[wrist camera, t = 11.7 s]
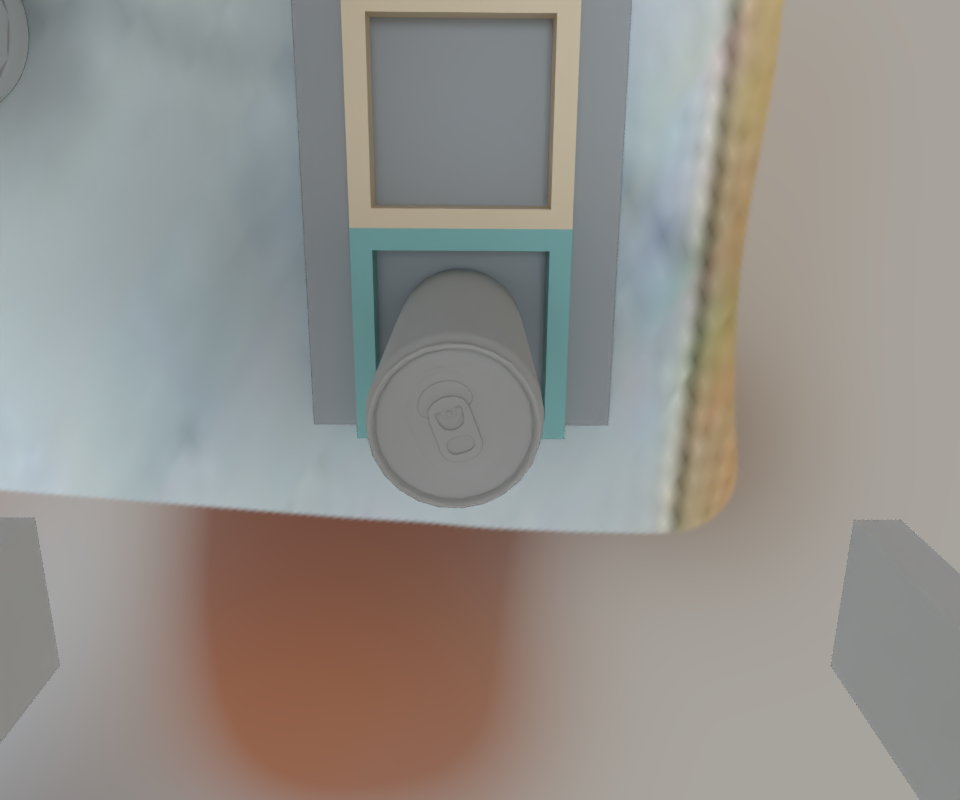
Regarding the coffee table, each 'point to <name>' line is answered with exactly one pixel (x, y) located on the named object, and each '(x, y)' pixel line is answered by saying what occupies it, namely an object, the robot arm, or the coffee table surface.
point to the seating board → (462, 179)
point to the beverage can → (456, 394)
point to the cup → (12, 44)
